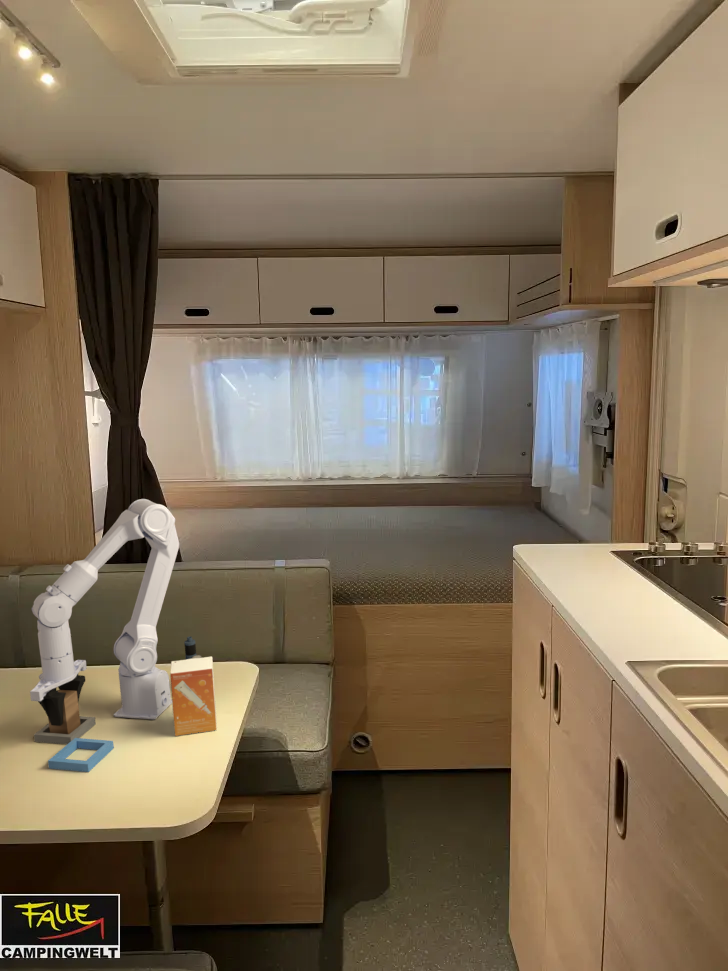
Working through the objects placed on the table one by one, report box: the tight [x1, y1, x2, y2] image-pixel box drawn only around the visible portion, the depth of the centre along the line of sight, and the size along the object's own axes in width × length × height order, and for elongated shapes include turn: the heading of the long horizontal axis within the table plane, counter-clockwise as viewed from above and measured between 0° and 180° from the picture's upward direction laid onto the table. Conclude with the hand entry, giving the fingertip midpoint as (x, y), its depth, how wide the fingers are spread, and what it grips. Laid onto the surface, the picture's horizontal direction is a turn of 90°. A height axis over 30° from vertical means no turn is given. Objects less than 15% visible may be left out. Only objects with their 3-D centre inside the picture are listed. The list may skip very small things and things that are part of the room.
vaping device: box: [184, 636, 203, 660], centre depth 153 cm, size 3×5×12 cm, turn 45°
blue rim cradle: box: [47, 737, 115, 773], centre depth 128 cm, size 8×8×2 cm
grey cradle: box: [33, 715, 96, 745], centre depth 137 cm, size 8×8×2 cm
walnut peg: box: [47, 689, 81, 734], centre depth 137 cm, size 4×4×8 cm
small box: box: [169, 656, 218, 737], centre depth 137 cm, size 8×6×13 cm
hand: (64, 718), depth 137 cm, fingers closed on walnut peg, 4 cm apart
